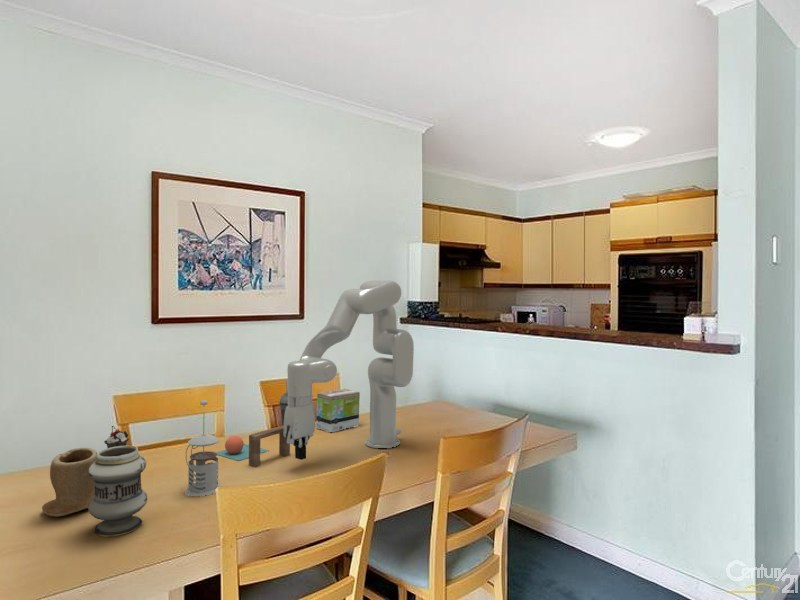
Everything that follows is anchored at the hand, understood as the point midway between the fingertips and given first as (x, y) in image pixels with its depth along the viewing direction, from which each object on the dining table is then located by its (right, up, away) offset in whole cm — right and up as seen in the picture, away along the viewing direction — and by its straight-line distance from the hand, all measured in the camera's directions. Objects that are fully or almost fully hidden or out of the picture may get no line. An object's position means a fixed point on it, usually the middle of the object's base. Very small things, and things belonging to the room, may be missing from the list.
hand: (300, 458), depth 160 cm
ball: (-25, +1, +13) cm, 28 cm away
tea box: (+6, -3, +48) cm, 48 cm away
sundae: (-54, -3, -7) cm, 54 cm away
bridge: (-11, -3, +7) cm, 13 cm away
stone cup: (-50, -3, -32) cm, 59 cm away
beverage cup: (-13, -2, +41) cm, 43 cm away
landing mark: (-23, -2, +14) cm, 27 cm away
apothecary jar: (-34, -3, -42) cm, 54 cm away
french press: (-24, -3, -18) cm, 31 cm away
